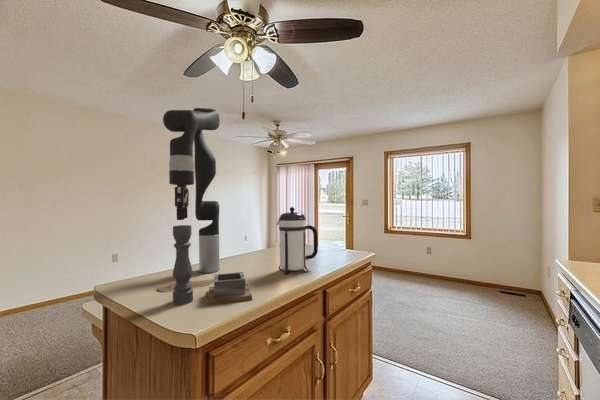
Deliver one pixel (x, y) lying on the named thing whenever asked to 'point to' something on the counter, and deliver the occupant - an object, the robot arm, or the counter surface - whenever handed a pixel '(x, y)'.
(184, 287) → the candle holder
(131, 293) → the counter surface
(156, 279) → the counter surface
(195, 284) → the fish fossil
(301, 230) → the coffee press
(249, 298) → the collar socket
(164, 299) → the counter surface
